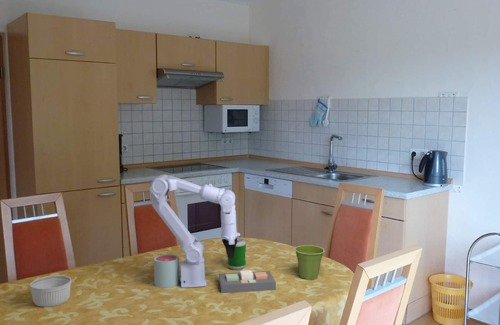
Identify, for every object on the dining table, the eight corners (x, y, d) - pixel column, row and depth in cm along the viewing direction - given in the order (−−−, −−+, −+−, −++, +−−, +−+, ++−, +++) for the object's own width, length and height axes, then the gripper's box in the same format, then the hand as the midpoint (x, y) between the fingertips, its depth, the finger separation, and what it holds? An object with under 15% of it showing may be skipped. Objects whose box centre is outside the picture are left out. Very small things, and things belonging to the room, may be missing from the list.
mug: (174, 288, 170) (173, 262, 169) (150, 286, 172) (149, 261, 171) (186, 275, 183) (186, 251, 182) (164, 274, 185) (164, 250, 184)
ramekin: (60, 290, 168) (59, 272, 168) (79, 299, 160) (78, 280, 159) (23, 302, 158) (22, 282, 157) (42, 312, 150) (41, 292, 149)
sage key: (226, 287, 170) (226, 278, 169) (225, 283, 174) (225, 274, 174) (238, 286, 170) (238, 277, 170) (237, 282, 175) (237, 273, 174)
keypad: (221, 293, 166) (221, 284, 165) (218, 281, 178) (218, 273, 177) (275, 289, 169) (275, 281, 169) (269, 278, 181) (269, 270, 180)
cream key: (241, 284, 171) (241, 274, 170) (240, 279, 175) (239, 270, 174) (253, 283, 171) (253, 274, 171) (251, 279, 176) (251, 270, 175)
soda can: (245, 270, 189) (245, 242, 188) (227, 270, 189) (227, 242, 188) (246, 264, 196) (246, 237, 195) (228, 264, 197) (228, 237, 195)
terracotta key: (256, 285, 172) (256, 276, 171) (254, 281, 176) (254, 272, 175) (267, 284, 172) (267, 275, 172) (265, 280, 177) (265, 271, 176)
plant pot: (309, 284, 174) (310, 255, 173) (287, 275, 183) (288, 248, 182) (330, 277, 182) (330, 249, 180) (308, 269, 191) (308, 243, 189)
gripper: (241, 226, 166) (243, 262, 167) (236, 217, 180) (238, 251, 181) (222, 228, 164) (224, 264, 166) (218, 219, 179) (220, 252, 180)
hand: (230, 257), depth 174 cm, fingers closed
